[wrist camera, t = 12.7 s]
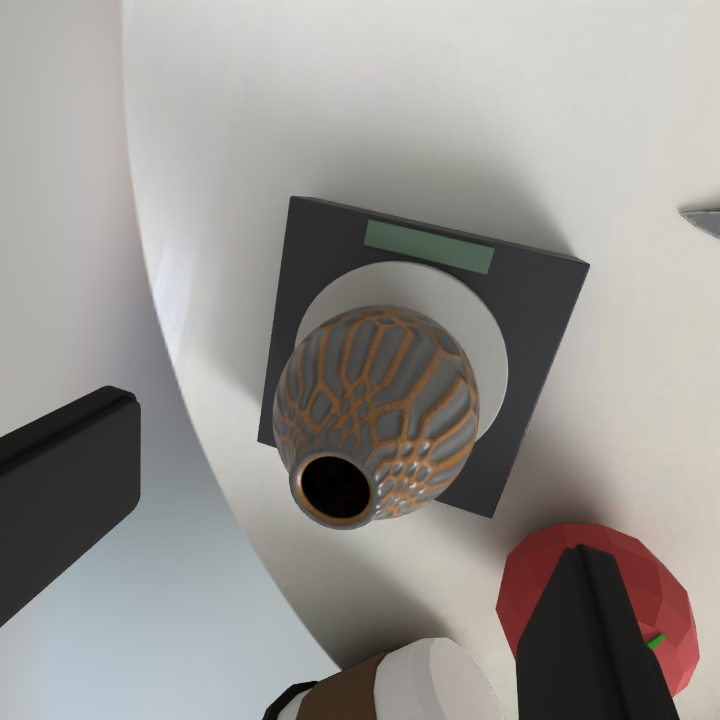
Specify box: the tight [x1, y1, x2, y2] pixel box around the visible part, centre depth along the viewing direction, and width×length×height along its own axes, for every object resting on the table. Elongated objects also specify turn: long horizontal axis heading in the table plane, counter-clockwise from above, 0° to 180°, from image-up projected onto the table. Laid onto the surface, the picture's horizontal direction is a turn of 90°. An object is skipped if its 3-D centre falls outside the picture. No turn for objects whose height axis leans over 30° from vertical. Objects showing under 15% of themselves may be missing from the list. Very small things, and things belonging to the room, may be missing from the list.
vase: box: [273, 305, 480, 530], centre depth 15 cm, size 7×7×9 cm
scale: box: [257, 196, 590, 519], centre depth 20 cm, size 12×12×3 cm
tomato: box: [496, 523, 700, 697], centre depth 20 cm, size 8×8×8 cm
